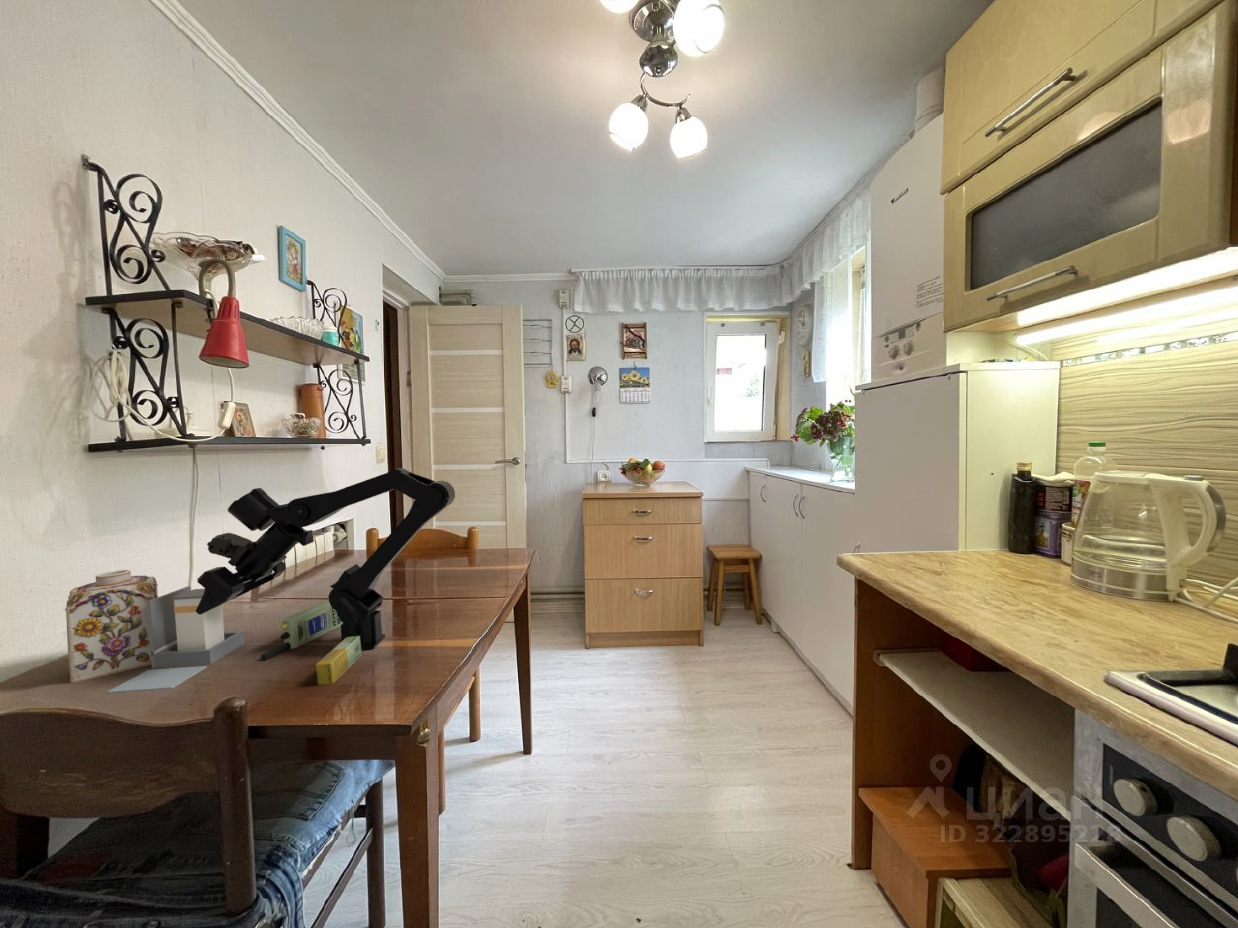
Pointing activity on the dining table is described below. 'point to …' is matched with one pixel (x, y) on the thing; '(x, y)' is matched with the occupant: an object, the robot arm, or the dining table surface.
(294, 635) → the handheld radio
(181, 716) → the dining table surface
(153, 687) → the pad
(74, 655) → the decorative jar
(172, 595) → the case
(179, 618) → the block
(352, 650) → the medication box
